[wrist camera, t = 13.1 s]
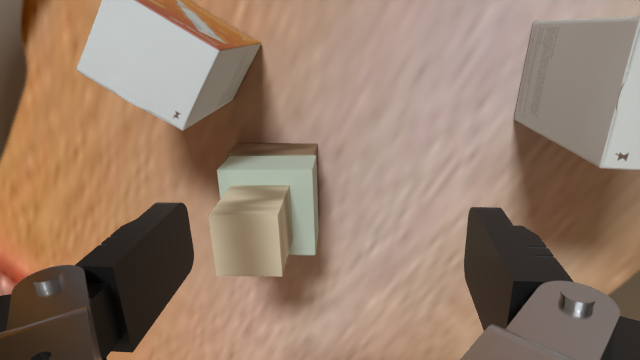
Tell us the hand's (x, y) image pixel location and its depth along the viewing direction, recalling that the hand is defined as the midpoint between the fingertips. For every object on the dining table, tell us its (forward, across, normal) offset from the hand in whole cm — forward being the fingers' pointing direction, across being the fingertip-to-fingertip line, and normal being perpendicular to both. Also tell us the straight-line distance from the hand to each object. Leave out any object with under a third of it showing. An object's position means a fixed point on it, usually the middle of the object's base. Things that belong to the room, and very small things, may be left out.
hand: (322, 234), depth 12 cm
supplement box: (+31, -19, 0) cm, 37 cm away
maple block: (+22, +8, +10) cm, 25 cm away
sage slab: (+26, +8, +10) cm, 29 cm away
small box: (+30, +14, -4) cm, 33 cm away
